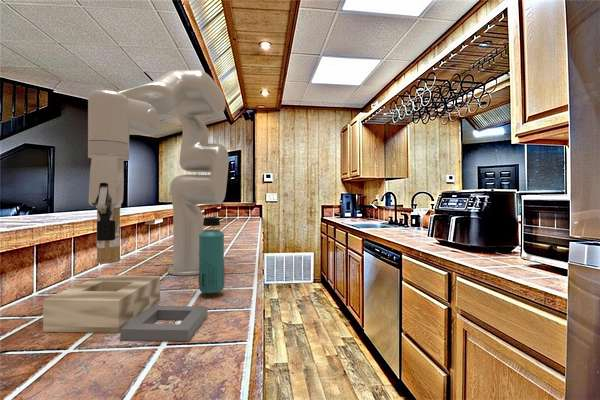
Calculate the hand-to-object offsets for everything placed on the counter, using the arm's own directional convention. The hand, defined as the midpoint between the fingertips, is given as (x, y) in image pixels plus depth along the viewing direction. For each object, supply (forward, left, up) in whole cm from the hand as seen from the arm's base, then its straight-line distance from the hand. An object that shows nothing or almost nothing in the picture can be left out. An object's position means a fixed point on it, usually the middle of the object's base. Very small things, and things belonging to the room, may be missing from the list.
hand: (108, 237), depth 70 cm
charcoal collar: (+6, +15, -16) cm, 23 cm away
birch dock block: (0, 0, -16) cm, 16 cm away
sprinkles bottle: (0, 0, -5) cm, 5 cm away
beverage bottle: (-14, +18, -17) cm, 28 cm away
